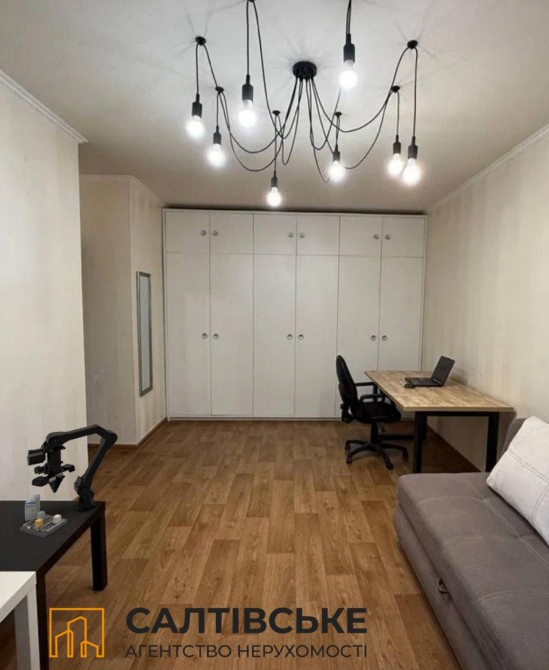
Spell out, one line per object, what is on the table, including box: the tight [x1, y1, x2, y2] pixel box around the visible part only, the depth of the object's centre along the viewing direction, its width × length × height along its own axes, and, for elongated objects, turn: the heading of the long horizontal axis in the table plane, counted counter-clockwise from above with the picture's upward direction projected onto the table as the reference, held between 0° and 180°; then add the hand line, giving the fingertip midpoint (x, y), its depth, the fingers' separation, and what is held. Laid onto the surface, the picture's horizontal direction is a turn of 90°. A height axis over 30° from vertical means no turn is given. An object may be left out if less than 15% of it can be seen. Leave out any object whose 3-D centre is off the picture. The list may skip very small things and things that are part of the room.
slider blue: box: [37, 510, 46, 519], centre depth 167 cm, size 3×2×3 cm
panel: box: [19, 513, 68, 538], centre depth 164 cm, size 12×14×2 cm
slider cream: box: [53, 514, 62, 524], centre depth 164 cm, size 3×2×3 cm
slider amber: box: [35, 519, 44, 528], centre depth 161 cm, size 3×2×3 cm
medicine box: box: [24, 493, 41, 522], centre depth 172 cm, size 8×4×9 cm, turn 21°
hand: (54, 492), depth 171 cm, fingers closed
